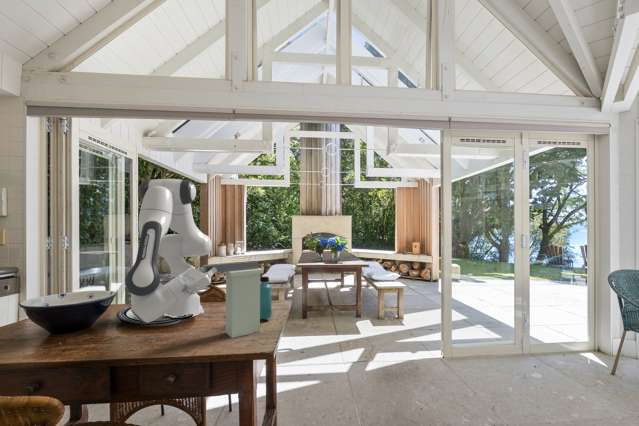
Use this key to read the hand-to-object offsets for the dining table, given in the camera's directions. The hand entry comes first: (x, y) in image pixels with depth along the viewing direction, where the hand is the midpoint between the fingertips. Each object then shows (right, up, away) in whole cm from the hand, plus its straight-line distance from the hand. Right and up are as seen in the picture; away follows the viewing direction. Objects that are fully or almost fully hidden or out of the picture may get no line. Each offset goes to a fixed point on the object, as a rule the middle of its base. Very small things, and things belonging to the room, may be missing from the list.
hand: (212, 267), depth 127 cm
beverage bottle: (+16, -28, +23) cm, 40 cm away
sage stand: (+10, -28, +7) cm, 31 cm away
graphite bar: (+6, -2, +5) cm, 8 cm away
